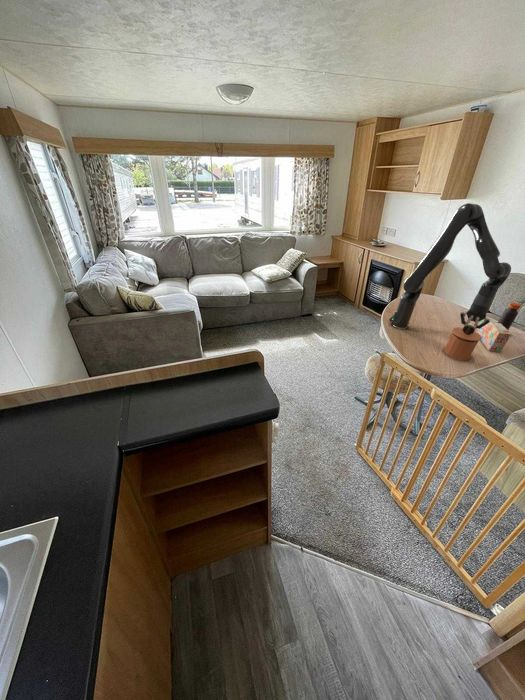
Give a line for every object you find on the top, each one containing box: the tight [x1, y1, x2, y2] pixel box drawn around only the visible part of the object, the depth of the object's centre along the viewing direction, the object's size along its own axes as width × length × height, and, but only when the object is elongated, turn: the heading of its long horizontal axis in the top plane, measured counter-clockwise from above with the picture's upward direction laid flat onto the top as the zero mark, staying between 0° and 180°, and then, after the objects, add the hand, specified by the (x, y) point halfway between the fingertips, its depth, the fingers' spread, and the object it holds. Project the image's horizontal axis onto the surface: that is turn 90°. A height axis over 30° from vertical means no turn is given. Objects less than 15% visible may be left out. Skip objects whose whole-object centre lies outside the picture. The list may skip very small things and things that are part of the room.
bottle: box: [497, 302, 522, 331], centre depth 178 cm, size 7×7×20 cm
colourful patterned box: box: [475, 319, 512, 353], centre depth 170 cm, size 21×6×12 cm, turn 168°
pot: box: [443, 331, 479, 361], centre depth 158 cm, size 12×12×12 cm
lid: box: [451, 324, 481, 342], centre depth 153 cm, size 14×14×6 cm
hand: (467, 332), depth 153 cm, fingers closed on lid, 2 cm apart
